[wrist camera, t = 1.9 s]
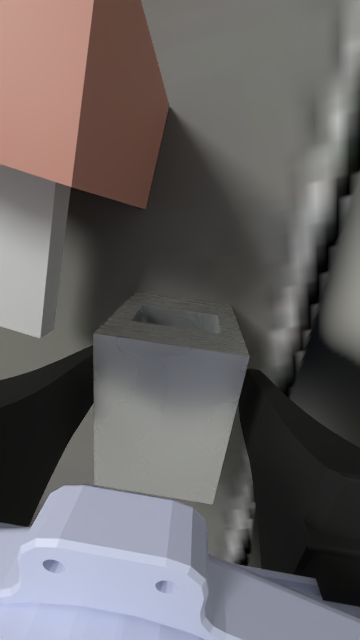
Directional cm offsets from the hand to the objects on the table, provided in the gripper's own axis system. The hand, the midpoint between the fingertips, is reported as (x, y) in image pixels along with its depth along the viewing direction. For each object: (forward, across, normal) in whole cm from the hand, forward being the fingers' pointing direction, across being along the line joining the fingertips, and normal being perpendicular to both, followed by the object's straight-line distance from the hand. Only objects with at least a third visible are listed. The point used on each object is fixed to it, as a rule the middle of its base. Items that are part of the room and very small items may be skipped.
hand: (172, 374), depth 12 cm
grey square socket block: (+2, 0, 0) cm, 2 cm away
